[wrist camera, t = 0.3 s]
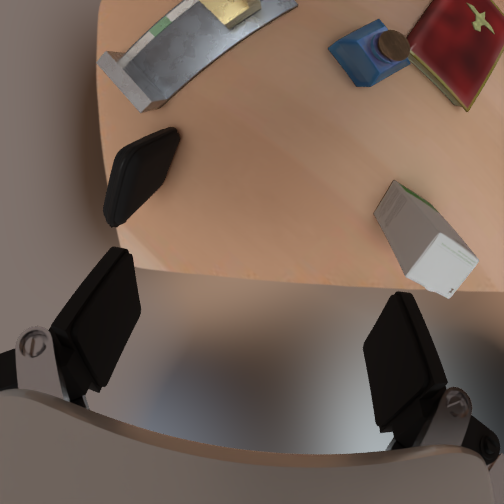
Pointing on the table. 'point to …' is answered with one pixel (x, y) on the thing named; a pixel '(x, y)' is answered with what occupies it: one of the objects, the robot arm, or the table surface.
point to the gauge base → (180, 50)
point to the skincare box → (424, 241)
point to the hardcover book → (458, 46)
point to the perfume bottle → (371, 53)
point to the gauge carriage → (232, 10)
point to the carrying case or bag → (138, 174)
